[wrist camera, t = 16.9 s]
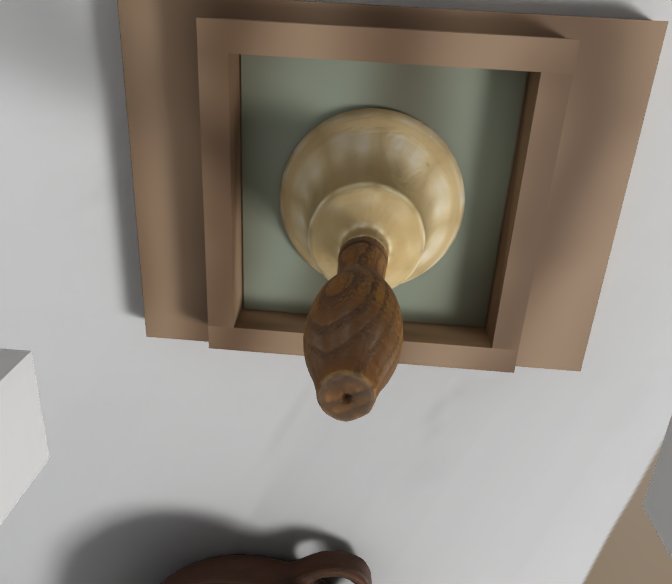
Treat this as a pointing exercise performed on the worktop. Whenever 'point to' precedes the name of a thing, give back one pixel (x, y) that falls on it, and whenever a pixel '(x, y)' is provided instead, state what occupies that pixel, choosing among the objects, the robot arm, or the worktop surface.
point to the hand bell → (366, 241)
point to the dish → (274, 570)
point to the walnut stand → (402, 96)
